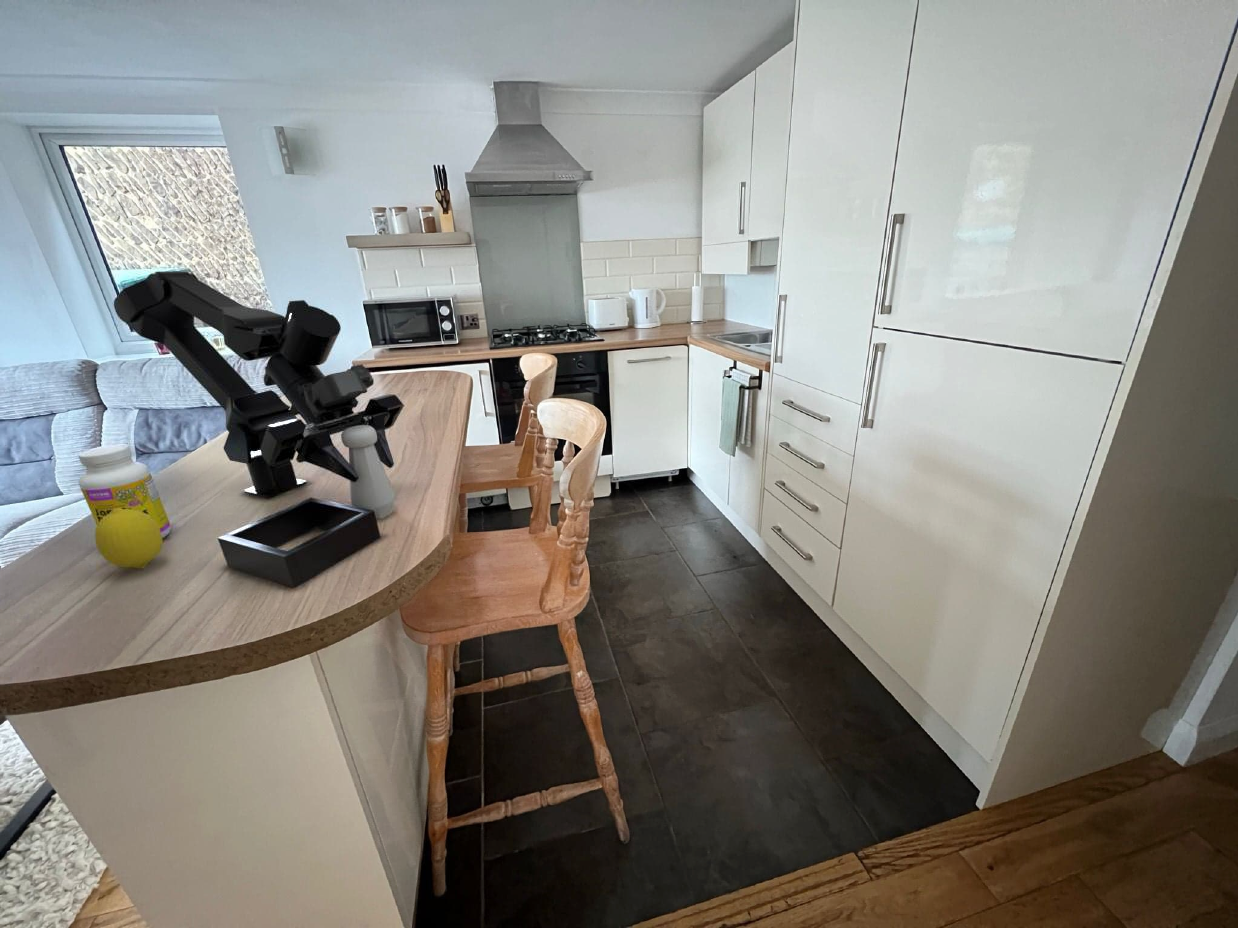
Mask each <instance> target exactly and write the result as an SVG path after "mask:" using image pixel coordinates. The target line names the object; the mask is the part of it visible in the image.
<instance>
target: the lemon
mask: <svg viewBox="0 0 1238 928" xmlns="http://www.w3.org/2000/svg"><path fill="white" fill-rule="evenodd" d="M94 540H95V545H96V548H97V550H98V553H99V554H100V555H101V556H102V558H103V559H104V560H106V561H107V562H108V563H110V564H112V565H114V566H117V567H121V568H135V569H138V570H140V569H144V568H146V567H147V565H148V564H149V562H151V561H152V560H154V559H155V558H156V557H157V556H158V554H159V553H160V552H161V550H162V545H163V538H162V534H161V531H160V529H159V527H158V526H157V524H156V523H155V522H154V520H153V519H152V518H151V517H150V516H148V515H147V514H145V513H143V512H141V511H137V510H132V509H122V508H116V509H113V511H112V512H111V513H110V514H108V515H106V516H105V517H104V518H102V520H101V521H100V522H99V523H98V525H97V524H96V527H95V530H94Z"/></svg>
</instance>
